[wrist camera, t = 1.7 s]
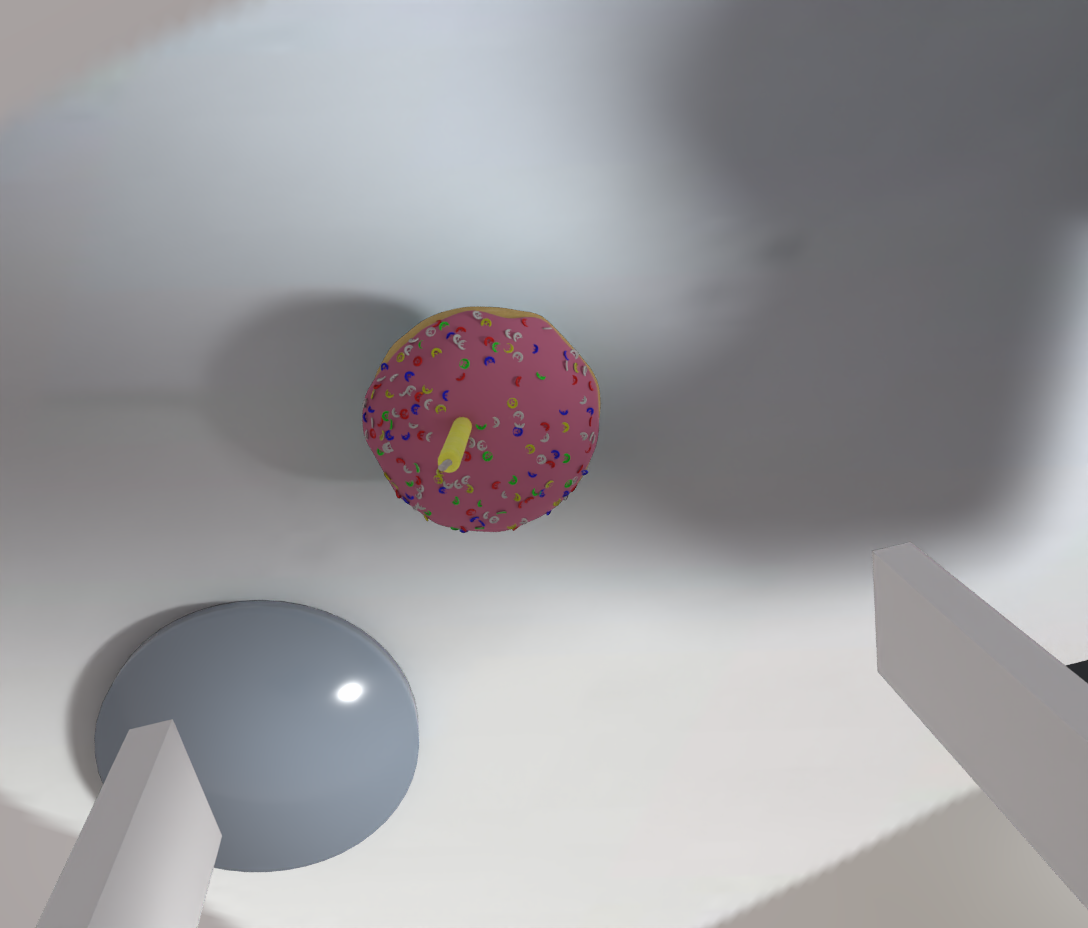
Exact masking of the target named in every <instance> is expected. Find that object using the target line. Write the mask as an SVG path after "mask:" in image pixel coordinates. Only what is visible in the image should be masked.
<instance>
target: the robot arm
mask: <svg viewBox="0 0 1088 928" xmlns="http://www.w3.org/2000/svg"><path fill="white" fill-rule="evenodd" d="M872 558H873V581H874V603H875V625H876V647H877V669H878V672H879V674H880V675H881V676H882V677H883V678H884V679H885V680H886V682H887V683H888V684H889V685H890V686H891V687H892V688H893V690H894V691H895V692H896V693H897V694H898V695H899V696H900V697H901V699H902V700H903V701H904V702H905V703H906V704H907V705H908V707H909V708H910V709H911V710H912V711H913V712H914V713H915V714H916V716H917V717H918V718H919V719H920V720H921V721H922V722H923V724H924V725H925V726H926V727H927V728H928V729H929V730H930V731H931V733H932V734H933V735H934V736H935V737H936V738H937V739H938V741H939V742H940V743H941V744H942V745H943V746H944V747H945V748H946V750H947V751H948V752H949V753H950V754H951V755H952V756H953V758H954V759H955V760H956V761H957V762H958V763H959V764H960V765H961V767H962V768H963V769H964V770H965V771H966V772H967V773H968V775H969V776H970V777H971V778H972V779H973V780H974V781H975V782H976V784H977V785H978V786H979V787H980V788H981V789H982V790H983V792H984V793H985V794H986V795H987V796H988V797H989V798H990V799H991V801H992V802H993V803H994V804H995V805H996V806H997V807H998V809H999V810H1000V811H1001V812H1002V813H1003V814H1004V815H1005V816H1006V818H1007V819H1008V820H1009V821H1010V822H1011V823H1012V824H1013V826H1014V827H1015V828H1016V829H1017V830H1018V831H1019V832H1020V833H1021V835H1022V836H1023V837H1024V838H1025V839H1026V840H1027V841H1028V842H1029V844H1030V845H1031V846H1032V847H1033V848H1034V849H1035V850H1036V852H1037V853H1038V854H1039V855H1040V856H1041V857H1042V858H1043V859H1044V861H1046V863H1047V864H1048V865H1049V866H1050V867H1051V868H1052V870H1053V871H1054V872H1055V873H1056V874H1057V875H1058V876H1059V878H1060V879H1061V880H1062V881H1063V882H1064V883H1065V884H1066V886H1067V887H1068V888H1069V889H1070V890H1071V891H1072V892H1073V893H1074V895H1075V896H1076V897H1077V898H1078V899H1079V900H1080V901H1081V903H1082V904H1083V905H1084V906H1085V907H1086V908H1087V909H1088V660H1086V661H1082V662H1078V663H1074V664H1070V665H1066V666H1065V665H1064V664H1063V663H1061V662H1060V661H1059V660H1058V659H1056V658H1055V657H1054V656H1053V655H1051V654H1050V653H1049V652H1048V651H1046V650H1045V649H1044V648H1043V647H1041V646H1040V645H1039V644H1038V643H1036V642H1035V641H1034V640H1033V639H1031V638H1030V637H1029V636H1028V635H1026V634H1025V633H1024V632H1023V631H1021V630H1020V629H1019V628H1018V627H1016V626H1015V625H1014V624H1013V623H1011V622H1010V621H1009V620H1008V619H1006V618H1005V617H1004V616H1003V615H1001V614H1000V613H999V612H998V611H996V610H995V609H994V608H993V607H991V606H990V605H989V604H988V603H986V602H985V601H984V600H983V599H981V598H980V597H979V596H978V595H976V594H975V593H974V592H973V591H971V590H970V589H969V588H968V587H966V586H965V585H964V584H963V583H961V582H960V581H959V580H958V579H956V578H955V577H954V576H953V575H951V574H950V573H949V572H948V571H946V570H945V569H944V568H943V567H941V566H940V565H939V564H938V563H936V562H935V561H934V560H933V559H931V558H930V557H929V556H928V555H926V554H925V553H924V552H923V551H921V550H920V549H919V548H918V547H916V546H915V545H914V544H913V543H912V542H907V543H903V544H899V545H895V546H891V547H887V548H882V549H878V550H874V551H872ZM221 838H222V835H221V832H220V830H219V827H218V825H217V823H216V820H215V818H214V816H213V813H212V811H211V809H210V806H209V804H208V801H207V799H206V797H205V794H204V792H203V790H202V787H201V785H200V783H199V780H198V778H197V775H196V773H195V771H194V768H193V766H192V764H191V761H190V759H189V757H188V754H187V752H186V749H185V747H184V745H183V742H182V740H181V738H180V735H179V733H178V731H177V728H176V726H175V723H174V721H173V719H171V720H167V721H163V722H159V723H155V724H150V725H146V726H142V727H138V728H134V729H130V730H129V731H128V733H127V735H126V738H125V740H124V742H123V744H122V746H121V748H120V750H119V752H118V754H117V757H116V759H115V761H114V763H113V765H112V767H111V769H110V771H109V773H108V776H107V778H106V780H105V782H104V784H103V786H102V788H101V790H100V792H99V794H98V797H97V799H96V801H95V803H94V805H93V807H92V809H91V811H90V813H89V816H88V818H87V820H86V822H85V824H84V826H83V828H82V830H81V832H80V835H79V837H78V839H77V841H76V843H75V845H74V847H73V849H72V852H71V854H70V856H69V858H68V860H67V862H66V864H65V866H64V868H63V870H62V873H61V875H60V877H59V879H58V881H57V883H56V885H55V887H54V890H53V892H52V894H51V896H50V898H49V900H48V902H47V904H46V906H45V908H44V911H43V913H42V915H41V917H40V919H39V921H38V923H37V925H36V927H35V928H197V927H198V923H199V920H200V916H201V912H202V909H203V905H204V901H205V898H206V894H207V890H208V886H209V883H210V879H211V875H212V872H213V868H214V864H215V860H216V857H217V853H218V849H219V845H220V842H221Z"/></svg>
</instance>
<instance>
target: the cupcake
mask: <svg viewBox="0 0 1088 928" xmlns="http://www.w3.org/2000/svg"><path fill="white" fill-rule="evenodd" d="M362 407H363V431H364V436H365V439H366V441H367V443H368V445H369V447H370V448H371V450H372V452H373V453H374V455H375V457H376V459H377V461H378V462H379V464H380V466H381V468H382V470H383V472H384V475H385V477H386V478H387V479H388V481H389V482H390V484H391V485H392V487H393V489H394V490H395V492H396V496H397V497H398V498H401V499H403V500H404V501H405V502H406V503H407V504H409V505H411V506H412V507H413V508H414V510H418V511H419V512H421V513H422V514H423V515H424V517H425V519H426V521H428V518H429V519H430V520H432V521H433V522H435V523H437V524H439V525H442V526H446V527H451V529H452V530H459V529H460V532H462V533H466V532H468V531H483V532H500V531H506V530H510V529H512V530H513V531H514V530H515V529H517V528H518V527H519V526H521V525H523V524H526V523H527V522H530V521H532V520H534V519H536V518H539V517H541V516H542V515H544V514H547V515H549V514H550V512H551V510H552V509H553V508H555V507H556V506H557V505H559V504H560V502H561V501H562V500H563V499H564V500H566V499H567V497H568V495H569V493H570V492H573V491H574V490H575V488H576V486H577V484H578V482H579V481H580V480H581V478H582V477H583V475H586V474H587V473H588V471H587V467H588V465H589V462H590V460H591V457H592V455H593V452H594V450H595V447H596V443H597V439H598V432H599V416H600V391H599V386H598V382H597V380H596V377H595V375H594V373H593V372H592V370H591V368H590V367H589V366H588V364H587V363H586V362H585V361H584V360H583V358H582V357H581V356H580V355H579V353H578V351H577V350H575V349H574V348H573V347H572V346H571V345H570V344H569V342H568V341H567V340H566V339H565V338H564V337H563V336H562V335H561V334H560V333H559V332H558V331H557V330H556V329H555V328H554V327H553V326H552V325H551V324H550V323H549V322H548V321H547V320H546V319H545V318H543V317H542V316H540V315H538V314H535V313H531V312H525V311H518V310H513V309H507V308H499V307H464V308H457V309H452V310H448V311H445V312H441V313H438V314H436V315H433V316H431V317H429V318H427V319H425V320H423V321H422V322H420V323H419V324H417V325H416V326H415V327H414V328H412V329H411V330H410V331H409V332H408V333H406V334H405V335H404V336H403V337H401V338H400V339H399V340H398V341H396V342H395V343H394V344H393V346H392V347H391V348H390V350H389V351H388V353H387V354H386V356H385V358H384V360H383V361H382V363H381V365H380V367H379V369H378V371H377V373H376V376H375V379H374V381H373V382H372V384H371V386H370V387H369V389H368V391H367V393H366V396H365V399H364V401H363V405H362ZM585 472H586V473H585ZM565 497H566V498H565ZM462 530H463V531H462Z"/></svg>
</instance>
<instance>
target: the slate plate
mask: <svg viewBox="0 0 1088 928" xmlns="http://www.w3.org/2000/svg"><path fill="white" fill-rule="evenodd" d="M171 719H173V721H174V723H175V726H176V728H177V731H178V733H179V735H180V738H181V740H182V742H183V745H184V747H185V749H186V752H187V754H188V757H189V759H190V761H191V764H192V766H193V768H194V771H195V773H196V775H197V778H198V780H199V783H200V785H201V787H202V790H203V792H204V794H205V797H206V799H207V801H208V804H209V806H210V809H211V811H212V813H213V816H214V818H215V820H216V823H217V825H218V827H219V830H220V832H221V835H222V838H221V842H220V845H219V849H218V853H217V857H216V860H215V864H214V868H219V869H224V870H231V871H241V872H272V871H283V870H290V869H295V868H300V867H305V866H308V865H312V864H315V863H318V862H321V861H324V860H327V859H329V858H332V857H334V856H336V855H339V854H341V853H343V852H345V851H347V850H348V849H350V848H352V847H354V846H356V845H357V844H359V843H360V842H362V841H363V840H364V839H366V838H367V837H369V836H370V835H371V834H373V833H374V832H375V831H376V830H377V829H378V828H379V827H380V826H381V825H383V824H384V823H385V822H386V821H387V819H388V818H389V817H390V816H391V815H392V814H393V812H394V811H395V810H396V809H397V807H398V806H399V804H400V803H401V801H402V799H403V798H404V796H405V795H406V793H407V790H408V788H409V786H410V784H411V781H412V779H413V776H414V772H415V768H416V765H417V758H418V750H419V726H418V712H417V707H416V703H415V698H414V695H413V693H412V690H411V687H410V685H409V682H408V681H407V679H406V677H405V675H404V673H403V672H402V670H401V668H400V667H399V665H398V664H397V663H396V662H395V660H394V659H393V658H392V656H391V655H390V654H389V653H388V652H387V651H386V650H385V649H384V648H383V647H382V646H381V645H380V644H379V643H378V642H377V641H376V640H375V639H373V638H372V637H371V636H369V635H368V634H367V633H365V632H364V631H363V630H361V629H360V628H358V627H356V626H355V625H353V624H351V623H349V622H347V621H346V620H344V619H342V618H339V617H337V616H335V615H332V614H330V613H328V612H325V611H322V610H319V609H315V608H312V607H308V606H305V605H300V604H294V603H288V602H281V601H263V600H259V601H241V602H234V603H228V604H222V605H217V606H213V607H210V608H206V609H203V610H199V611H196V612H194V613H192V614H189V615H187V616H184V617H182V618H180V619H177V620H176V621H174V622H172V623H171V624H169V625H167V626H165V627H164V628H162V629H160V630H159V631H158V632H156V633H155V634H154V635H152V636H151V637H150V638H148V639H147V640H146V641H145V642H143V644H142V645H141V646H140V647H139V648H138V649H137V650H136V651H135V652H134V653H133V654H132V655H131V656H130V657H129V659H128V660H127V661H126V663H125V664H124V666H123V667H122V668H121V670H120V671H119V673H118V675H117V677H116V678H115V680H114V682H113V684H112V685H111V687H110V689H109V691H108V693H107V695H106V697H105V699H104V701H103V703H102V706H101V709H100V712H99V716H98V719H97V724H96V731H95V757H96V762H97V767H98V772H99V775H100V777H101V780H102V783H103V784H104V782H105V780H106V778H107V776H108V773H109V771H110V769H111V767H112V765H113V763H114V761H115V759H116V757H117V754H118V752H119V750H120V748H121V746H122V744H123V742H124V740H125V738H126V735H127V733H128V731H129V730H130V729H134V728H138V727H142V726H146V725H150V724H155V723H159V722H163V721H167V720H171Z"/></svg>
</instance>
